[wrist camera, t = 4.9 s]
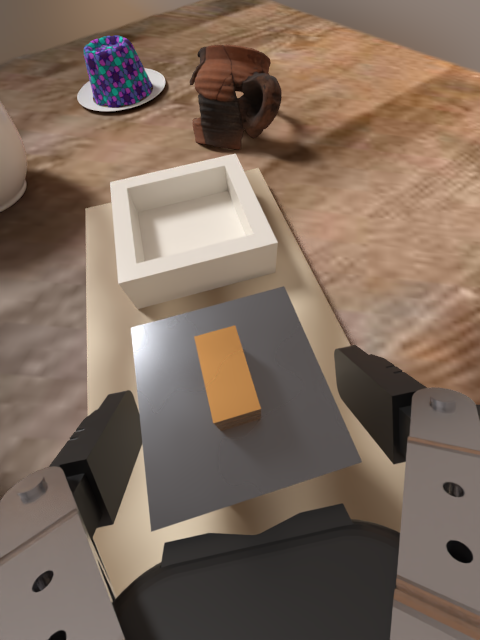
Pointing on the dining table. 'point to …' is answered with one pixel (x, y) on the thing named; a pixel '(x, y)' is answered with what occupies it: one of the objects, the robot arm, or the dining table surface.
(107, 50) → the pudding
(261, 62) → the pottery mug
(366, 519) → the board
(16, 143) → the lidded bowl
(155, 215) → the box
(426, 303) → the dining table surface
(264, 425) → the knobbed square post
